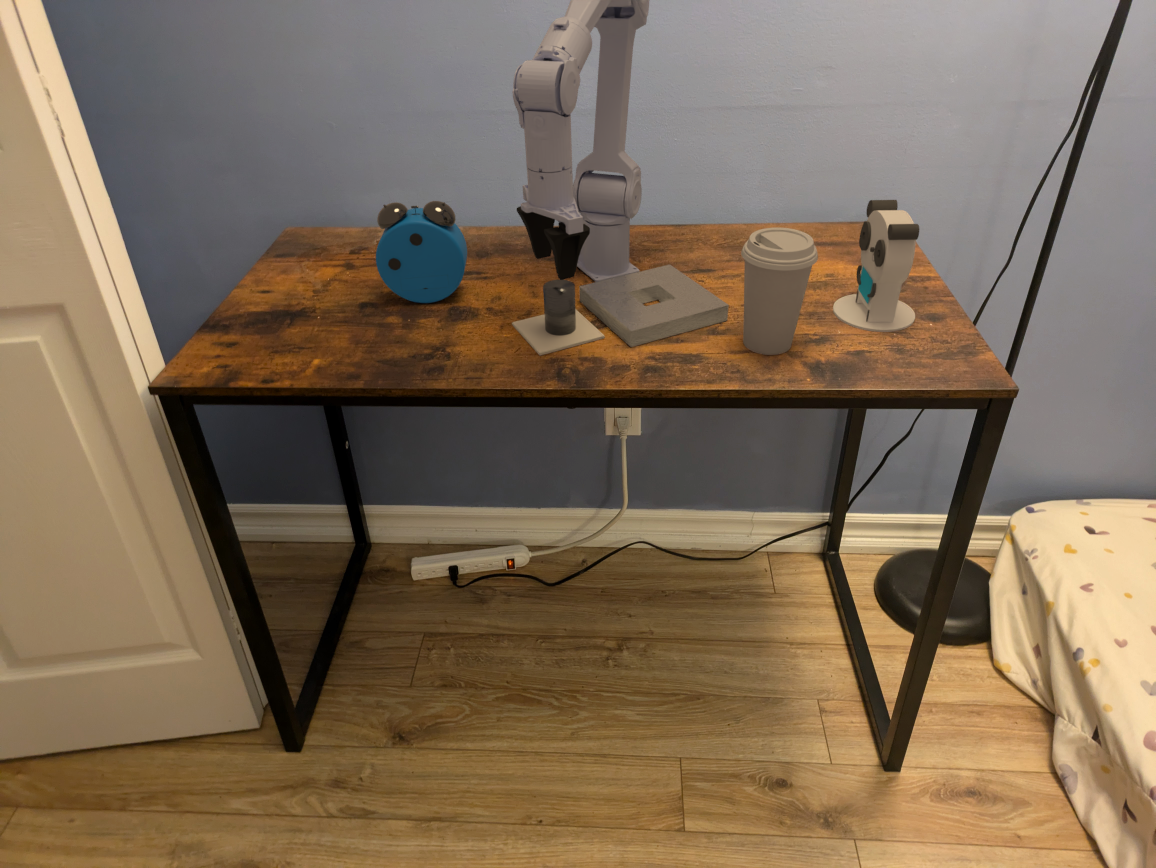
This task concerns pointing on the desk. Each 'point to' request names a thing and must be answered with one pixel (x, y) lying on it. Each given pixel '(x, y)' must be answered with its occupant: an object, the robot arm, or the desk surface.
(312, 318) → the desk surface
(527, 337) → the rubber pad
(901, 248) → the panda figurine
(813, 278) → the desk surface
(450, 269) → the alarm clock
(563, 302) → the dark metal cylinder
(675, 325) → the housing block
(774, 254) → the coffee cup
